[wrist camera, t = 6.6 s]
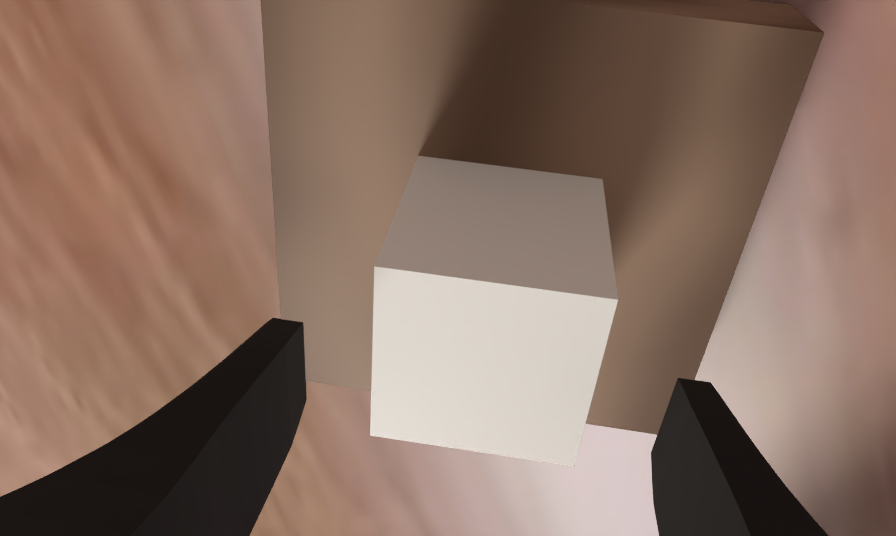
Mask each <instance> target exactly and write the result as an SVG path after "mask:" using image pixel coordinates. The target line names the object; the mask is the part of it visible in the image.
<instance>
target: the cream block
mask: <svg viewBox="0 0 896 536" xmlns="http://www.w3.org/2000/svg"><path fill="white" fill-rule="evenodd" d="M617 302H618V295H617V287H616V279H615V272H614V264H613V256H612V248H611V240H610V233H609V225H608V217H607V209H606V201H605V193H604V186H603V179H599V178H591V177H583V176H575V175H567V174H559V173H551V172H543V171H535V170H528V169H520V168H512V167H504V166H496V165H488V164H480V163H472V162H464V161H456V160H449V159H441V158H433V157H425V156H418V157H417V160H416V162H415V165H414V167H413V170H412V172H411V175H410V177H409V180H408V182H407V185H406V187H405V190H404V192H403V195H402V197H401V200H400V203H399V205H398V208H397V210H396V213H395V215H394V218H393V220H392V223H391V225H390V228H389V230H388V233H387V235H386V238H385V240H384V243H383V246H382V248H381V251H380V253H379V256H378V258H377V261H376V263H375V266H374V299H373V341H372V383H371V425H370V436H377V437H384V438H390V439H397V440H403V441H410V442H416V443H423V444H429V445H436V446H442V447H449V448H456V449H462V450H469V451H475V452H482V453H488V454H495V455H501V456H508V457H514V458H521V459H528V460H534V461H541V462H547V463H554V464H560V465H567V466H573V467H574V465H575V461H576V457H577V454H578V450H579V446H580V442H581V438H582V435H583V431H584V427H585V423H586V419H587V416H588V412H589V408H590V404H591V401H592V397H593V393H594V389H595V385H596V382H597V378H598V374H599V370H600V367H601V363H602V359H603V355H604V351H605V348H606V344H607V340H608V336H609V332H610V329H611V325H612V321H613V317H614V314H615V310H616V306H617Z"/></svg>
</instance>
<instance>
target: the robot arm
mask: <svg viewBox="0 0 896 536" xmlns="http://www.w3.org/2000/svg"><path fill="white" fill-rule="evenodd" d="M305 402H306V376H305V350H304V325H303V322H298V321H291V320H284V319H277V318H272V319H271V320H269V321H268V322H267V323H266V324H264V325H263V326H262V327H261V328H260V329H259V330H257V331H256V332H255V333H254V334H253V335H252V336H251V337H249V338H248V339H247V340H246V341H245V342H244V343H243V344H241V345H240V346H239V347H238V348H237V349H236V350H234V351H233V352H232V353H231V354H230V355H229V356H227V357H226V358H225V359H224V360H223V361H222V362H220V363H219V364H218V365H217V366H215V367H214V368H213V369H212V370H210V371H209V372H208V373H207V374H206V375H204V376H203V377H202V378H201V379H199V380H198V381H197V382H196V383H194V384H193V385H192V386H191V387H189V388H188V389H187V390H185V391H184V392H183V393H181V394H180V395H178V396H177V397H176V398H174V399H173V400H172V401H170V402H169V403H168V404H166V405H165V406H164V407H162V408H161V409H159V410H158V411H157V412H155V413H154V414H152V415H151V416H149V417H148V418H146V419H145V420H144V421H142V422H141V423H139V424H138V425H136V426H134V427H133V428H131V429H130V430H128V431H127V432H125V433H123V434H122V435H120V436H119V437H117V438H115V439H114V440H112V441H110V442H109V443H107V444H105V445H104V446H102V447H100V448H98V449H96V450H94V451H93V452H91V453H89V454H87V455H85V456H83V457H81V458H79V459H78V460H76V461H74V462H72V463H70V464H68V465H66V466H64V467H63V468H61V469H59V470H57V471H55V472H53V473H51V474H49V475H47V476H45V477H43V478H41V479H39V480H36V481H34V482H32V483H30V484H28V485H26V486H24V487H22V488H19V489H17V490H15V491H13V492H10V493H8V494H6V495H3V496H1V497H0V536H250V533H251V531H252V529H253V527H254V525H255V523H256V521H257V519H258V516H259V514H260V512H261V510H262V508H263V506H264V504H265V502H266V499H267V497H268V495H269V493H270V491H271V489H272V487H273V485H274V483H275V480H276V478H277V476H278V474H279V472H280V470H281V467H282V465H283V463H284V461H285V459H286V457H287V454H288V452H289V450H290V448H291V446H292V443H293V440H294V437H295V434H296V431H297V428H298V425H299V422H300V418H301V415H302V412H303V409H304V406H305ZM651 461H652V484H653V500H654V508H655V514H656V520H657V525H658V531H659V536H828V535H827V534H826V532H825V531H824V530H823V529H822V528H821V527H820V526H819V525H818V524H817V522H816V521H815V520H814V519H813V518H812V517H811V516H810V514H809V513H808V512H807V511H806V510H805V508H804V507H803V506H802V505H801V504H800V502H799V501H798V500H797V499H796V498H795V497H794V495H793V494H792V493H791V492H790V491H789V489H788V488H787V487H786V486H785V484H784V483H783V482H782V481H781V479H780V478H779V477H778V475H777V474H776V473H775V471H774V470H773V469H772V467H771V466H770V465H769V463H768V462H767V461H766V460H765V458H764V457H763V456H762V454H761V453H760V452H759V450H758V449H757V447H756V446H755V445H754V443H753V442H752V441H751V439H750V438H749V436H748V435H747V433H746V432H745V431H744V429H743V428H742V426H741V425H740V424H739V422H738V421H737V419H736V418H735V416H734V415H733V414H732V412H731V411H730V409H729V408H728V406H727V405H726V403H725V402H724V401H723V399H722V398H721V396H720V395H719V393H718V392H717V391H716V389H715V388H714V386H713V385H712V384H711V383H710V382H704V381H697V380H690V379H683V378H677V381H676V384H675V387H674V390H673V393H672V395H671V398H670V401H669V404H668V407H667V409H666V412H665V415H664V418H663V421H662V424H661V426H660V429H659V432H658V435H657V438H656V441H655V443H654V446H653V449H652V452H651Z"/></svg>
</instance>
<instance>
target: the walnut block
mask: <svg viewBox="0 0 896 536" xmlns="http://www.w3.org/2000/svg"><path fill="white" fill-rule="evenodd" d="M261 13H262V29H263V44H264V60H265V76H266V92H267V107H268V123H269V139H270V155H271V171H272V186H273V202H274V218H275V234H276V250H277V265H278V281H279V297H280V313H281V319H284V320H291V321H298V322H303V325H304V350H305V376H306V381H309V382H315V383H322V384H329V385H335V386H342V387H348V388H355V389H361V390H368V391H371V383H372V341H373V299H374V266H375V263H376V261H377V258H378V256H379V253H380V251H381V248H382V246H383V243H384V240H385V238H386V235H387V233H388V230H389V228H390V225H391V223H392V220H393V218H394V215H395V213H396V210H397V208H398V205H399V203H400V200H401V197H402V195H403V192H404V190H405V187H406V185H407V182H408V180H409V177H410V175H411V172H412V170H413V167H414V165H415V162H416V160H417V157H418V156H425V157H433V158H441V159H449V160H456V161H464V162H472V163H480V164H488V165H496V166H504V167H512V168H520V169H528V170H535V171H543V172H551V173H559V174H567V175H575V176H583V177H591V178H599V179H603V186H604V193H605V201H606V209H607V217H608V225H609V233H610V240H611V248H612V256H613V264H614V272H615V279H616V287H617V295H618V302H617V306H616V310H615V314H614V317H613V321H612V325H611V329H610V332H609V336H608V340H607V344H606V348H605V351H604V355H603V359H602V363H601V367H600V370H599V374H598V378H597V382H596V385H595V389H594V393H593V397H592V401H591V404H590V408H589V412H588V416H587V419H586V423H585V424H592V425H599V426H605V427H612V428H618V429H625V430H631V431H638V432H645V433H651V434H658V432H659V429H660V426H661V424H662V421H663V418H664V415H665V412H666V409H667V407H668V404H669V401H670V398H671V395H672V393H673V390H674V387H675V384H676V381H677V378H683V379H690V380H694V379H695V377H696V374H697V371H698V369H699V366H700V363H701V361H702V358H703V355H704V353H705V350H706V347H707V345H708V342H709V339H710V337H711V334H712V331H713V329H714V326H715V323H716V321H717V318H718V315H719V312H720V310H721V307H722V304H723V302H724V299H725V296H726V294H727V291H728V288H729V286H730V283H731V280H732V278H733V275H734V272H735V270H736V267H737V264H738V262H739V259H740V256H741V254H742V251H743V248H744V246H745V243H746V240H747V238H748V235H749V232H750V230H751V227H752V224H753V222H754V219H755V216H756V214H757V211H758V208H759V206H760V203H761V200H762V198H763V195H764V192H765V190H766V187H767V184H768V182H769V179H770V176H771V174H772V171H773V168H774V166H775V163H776V160H777V157H778V155H779V152H780V149H781V147H782V144H783V141H784V139H785V136H786V133H787V131H788V128H789V125H790V123H791V120H792V117H793V115H794V112H795V109H796V107H797V104H798V101H799V99H800V96H801V93H802V91H803V88H804V85H805V83H806V80H807V77H808V75H809V72H810V69H811V67H812V64H813V61H814V59H815V56H816V53H817V51H818V48H819V45H820V43H821V40H822V37H823V35H824V32H823V31H822V30H820V29H819V28H818V27H817V26H816V25H814V24H813V23H812V22H811V21H810V20H808V19H807V18H806V17H805V16H804V15H802V14H801V13H800V12H799V11H798V10H796V9H795V8H794V7H793V6H792V5H790V4H781V3H772V2H763V1H755V0H261Z"/></svg>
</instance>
